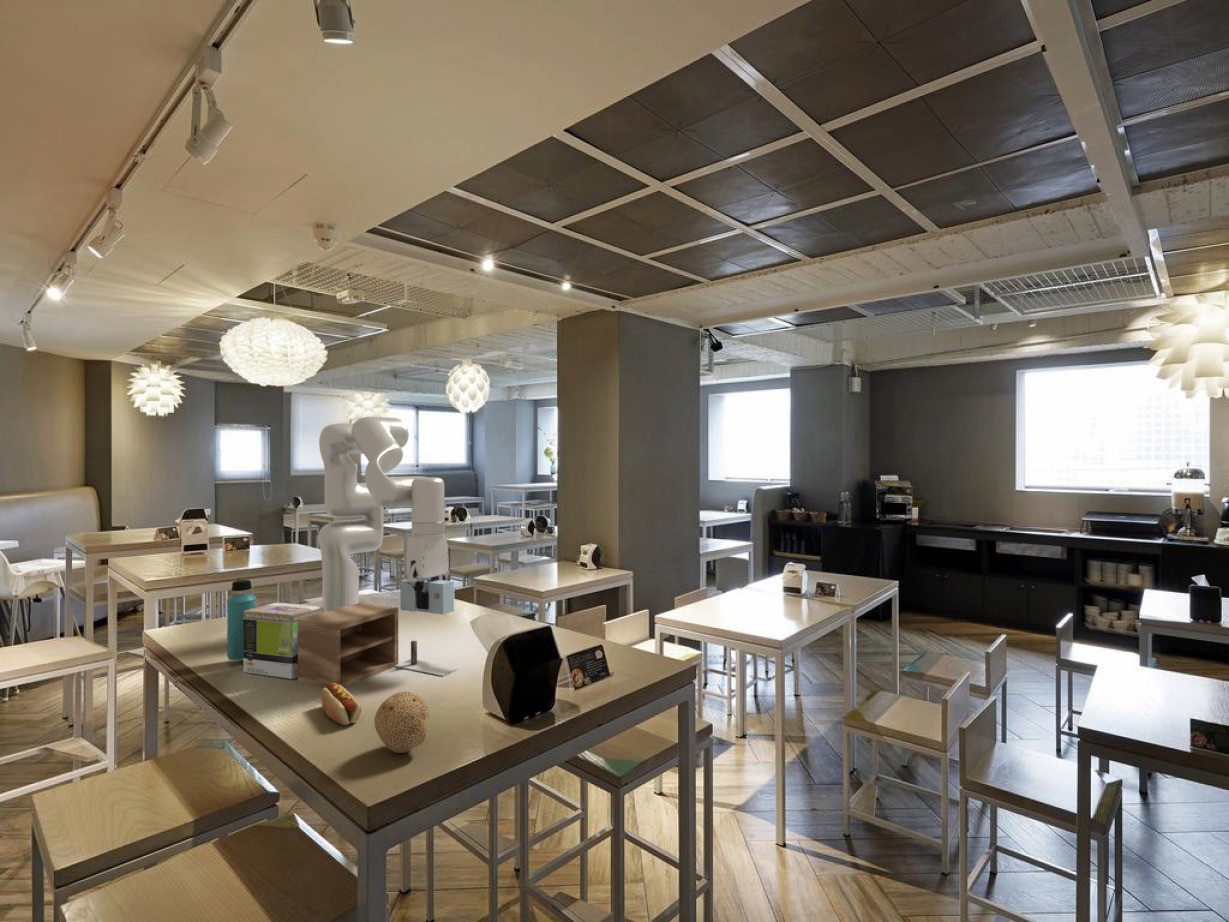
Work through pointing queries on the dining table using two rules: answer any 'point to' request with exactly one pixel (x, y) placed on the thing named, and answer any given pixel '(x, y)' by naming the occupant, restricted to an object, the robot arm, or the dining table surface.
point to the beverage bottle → (237, 618)
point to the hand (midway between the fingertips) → (429, 606)
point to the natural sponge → (402, 721)
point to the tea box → (274, 638)
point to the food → (340, 704)
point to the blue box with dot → (438, 597)
